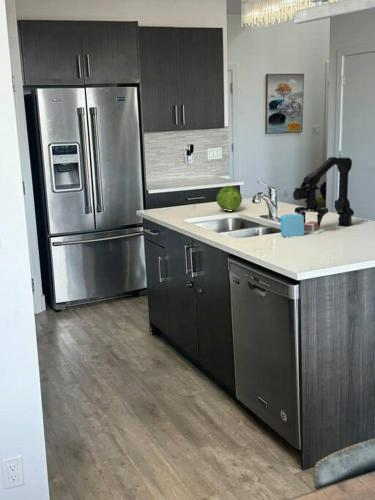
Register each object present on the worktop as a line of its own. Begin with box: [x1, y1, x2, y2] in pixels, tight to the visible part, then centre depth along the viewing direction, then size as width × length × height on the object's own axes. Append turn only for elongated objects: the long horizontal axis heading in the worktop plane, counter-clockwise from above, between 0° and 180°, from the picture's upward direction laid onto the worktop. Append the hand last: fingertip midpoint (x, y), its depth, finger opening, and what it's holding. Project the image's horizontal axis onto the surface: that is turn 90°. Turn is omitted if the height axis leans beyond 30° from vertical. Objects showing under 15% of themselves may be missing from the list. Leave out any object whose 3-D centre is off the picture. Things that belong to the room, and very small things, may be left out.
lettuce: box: [216, 185, 243, 211], centre depth 431 cm, size 18×23×19 cm
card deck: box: [304, 221, 321, 232], centre depth 343 cm, size 6×9×4 cm, turn 140°
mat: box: [304, 227, 329, 235], centre depth 343 cm, size 14×12×1 cm
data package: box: [280, 213, 305, 238], centre depth 332 cm, size 12×4×12 cm, turn 105°
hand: (311, 225), depth 343 cm, fingers open, 9 cm apart
